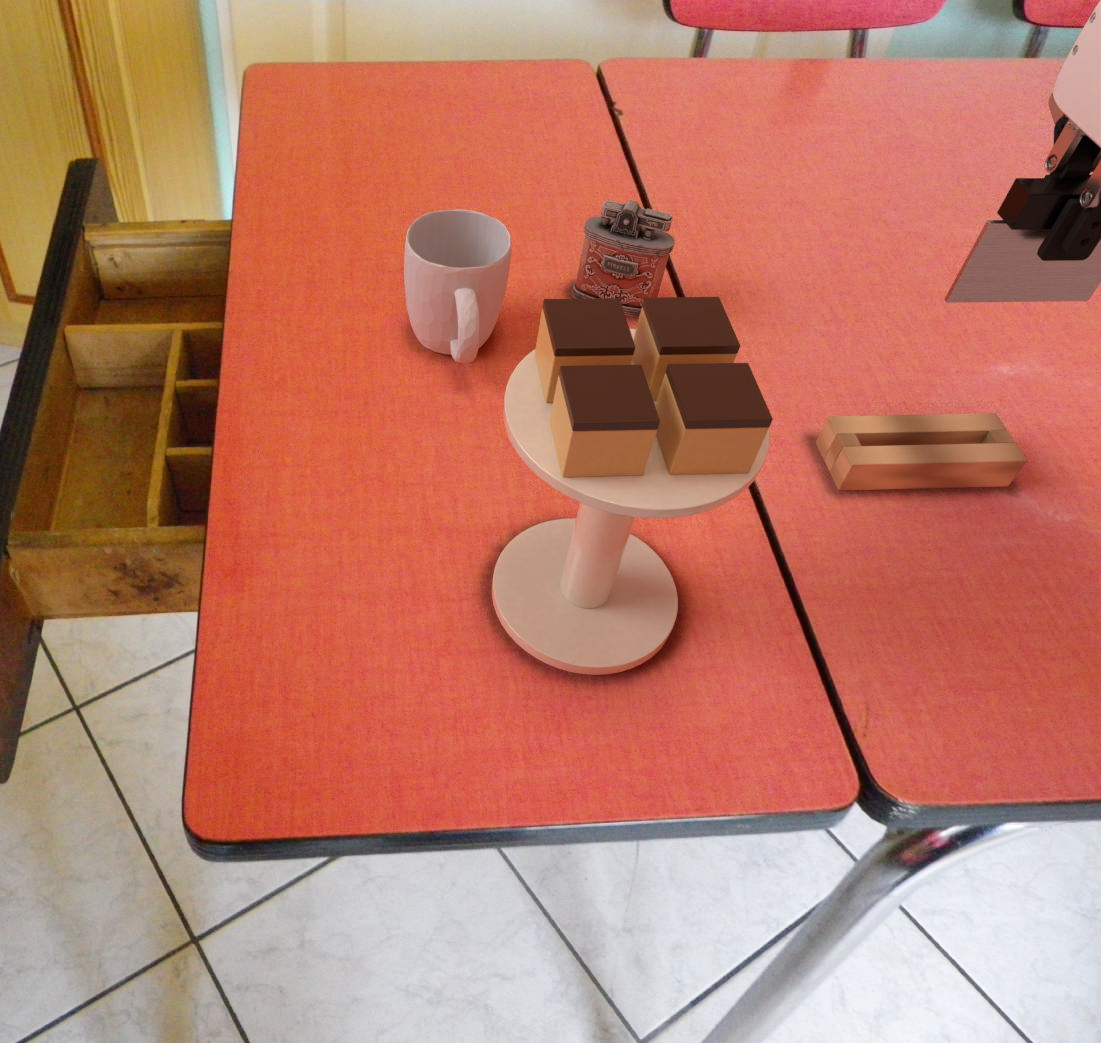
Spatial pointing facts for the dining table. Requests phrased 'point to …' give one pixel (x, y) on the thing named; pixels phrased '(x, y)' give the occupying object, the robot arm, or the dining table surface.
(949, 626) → the dining table surface
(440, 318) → the mug
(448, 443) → the dining table surface
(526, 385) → the cake stand
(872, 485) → the knife block
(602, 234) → the lighter
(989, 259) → the knife
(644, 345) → the cake
